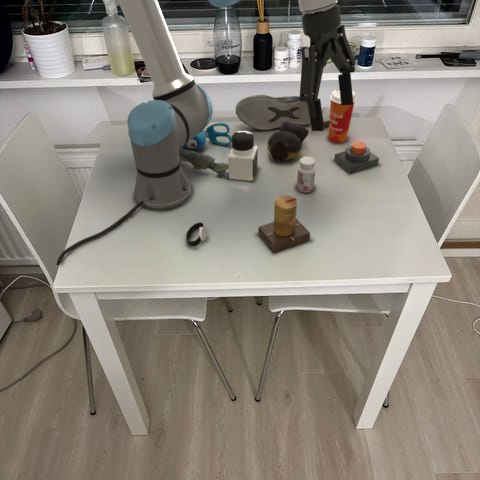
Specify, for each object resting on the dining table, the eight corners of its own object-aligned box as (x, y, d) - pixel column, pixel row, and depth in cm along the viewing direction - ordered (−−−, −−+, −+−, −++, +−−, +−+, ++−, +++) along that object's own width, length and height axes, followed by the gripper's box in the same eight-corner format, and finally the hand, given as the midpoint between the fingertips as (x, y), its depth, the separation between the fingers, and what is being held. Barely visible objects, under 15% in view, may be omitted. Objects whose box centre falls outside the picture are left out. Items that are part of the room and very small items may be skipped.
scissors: (228, 122, 142) (174, 123, 151) (226, 124, 141) (172, 124, 150) (233, 144, 146) (180, 143, 155) (231, 145, 146) (179, 144, 155)
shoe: (236, 131, 151) (231, 120, 160) (318, 128, 154) (309, 117, 164) (236, 97, 145) (231, 87, 154) (322, 94, 148) (312, 84, 157)
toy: (211, 127, 148) (200, 157, 152) (156, 102, 145) (146, 134, 149) (208, 132, 137) (196, 165, 142) (148, 105, 134) (138, 139, 139)
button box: (349, 173, 135) (351, 161, 132) (333, 160, 140) (335, 148, 137) (378, 164, 138) (380, 152, 135) (361, 152, 143) (364, 140, 140)
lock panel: (275, 255, 113) (275, 246, 111) (257, 233, 119) (257, 224, 117) (310, 242, 116) (311, 233, 114) (291, 221, 121) (292, 213, 119)
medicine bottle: (253, 181, 134) (253, 141, 125) (228, 179, 135) (227, 139, 126) (257, 168, 138) (258, 128, 129) (234, 166, 139) (232, 126, 130)
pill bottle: (293, 190, 131) (295, 162, 124) (300, 181, 133) (302, 154, 127) (309, 194, 129) (312, 166, 123) (316, 185, 132) (319, 158, 125)
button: (356, 156, 135) (357, 149, 133) (348, 150, 137) (349, 143, 135) (367, 153, 136) (369, 146, 134) (359, 146, 138) (360, 140, 137)
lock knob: (280, 238, 113) (281, 209, 107) (269, 226, 116) (270, 198, 110) (298, 232, 114) (301, 203, 108) (288, 220, 118) (289, 191, 111)
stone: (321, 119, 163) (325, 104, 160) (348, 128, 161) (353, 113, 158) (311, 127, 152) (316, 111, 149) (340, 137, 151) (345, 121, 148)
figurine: (291, 169, 138) (307, 145, 148) (295, 147, 133) (312, 124, 142) (260, 158, 140) (278, 136, 149) (264, 137, 135) (282, 115, 144)
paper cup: (320, 136, 150) (325, 91, 139) (341, 130, 152) (347, 85, 141) (333, 147, 145) (340, 101, 135) (354, 141, 147) (362, 96, 137)
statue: (139, 158, 143) (225, 193, 136) (136, 135, 137) (226, 170, 130) (153, 146, 147) (237, 180, 140) (151, 124, 141) (239, 157, 134)
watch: (202, 249, 115) (201, 237, 112) (183, 247, 115) (182, 235, 113) (208, 230, 120) (208, 218, 117) (190, 228, 120) (189, 216, 118)
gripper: (303, 26, 84) (320, 142, 97) (365, -14, 96) (373, 94, 110) (269, 31, 88) (290, 141, 102) (333, -8, 100) (344, 95, 114)
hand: (333, 117), depth 106 cm, fingers open, 13 cm apart
